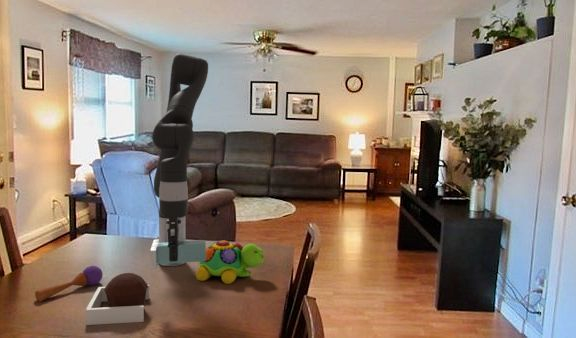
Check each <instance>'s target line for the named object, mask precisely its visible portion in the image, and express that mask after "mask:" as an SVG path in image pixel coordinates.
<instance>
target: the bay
mask: <svg viewBox="0 0 576 338" xmlns="http://www.w3.org/2000/svg"><path fill="white" fill-rule="evenodd" d="M147 285H148V288H147V290H146V296H145V300H150V284H147ZM105 287H106V286H98V287H97V289H96V290H95V293H94V295H93V296H92V297H91V300H90V302H89V303H88V305H87V307H86V309H85V326H92V325H110V324H126V323H129V324H131V323H143V322H144V321H145V312H144V311H145V310H144V309H145V304H144V305H141V306H122V307H109V306H107V307H106V306H105V307H100V306H101V305H102V302H108V301H107V295H106V293H105V291H104V289H105Z"/></svg>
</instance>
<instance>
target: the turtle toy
mask: <svg viewBox="0 0 576 338" xmlns="http://www.w3.org/2000/svg"><path fill="white" fill-rule="evenodd" d="M264 261H265V256H264V250H263V249H262V248H260V247H258V246H257V245H256V244H254V243H248V244H246V245H244V247H243V246H242V244H240V243H239V242H236V243H231V242H229V241H228V240H225V239H224V240H219V241H214V242H212V244H211V245H209V246H208V247H206V261H198V266H199V268H198V269H197V270H196V273H195V277H196V279H197V280H198V281H201V282H204V281H207V280H208V279H210V278H211V276H215V277H221V281H222V282H223V283H224V284H225V285H229V284H232V283H233V282H234V281H235V280H236V279H237V277H241V278H243V277H249V275H250V270H248V269H251V268H257V267H259V266H260V265H262V264H263V262H264Z"/></svg>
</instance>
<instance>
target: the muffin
mask: <svg viewBox="0 0 576 338" xmlns="http://www.w3.org/2000/svg"><path fill="white" fill-rule="evenodd" d="M148 285H149V284H148V283H147V282H146V281H145V279H144V278H143V276H141V275H139V274H137V273H133V272H124V273H119V274H117V275H116V276H114V277H113V278H112V279H111V280H110V281H109V282H108V283H107V285H106V286H104V287H105V289H104V291H105V293H106V295H107V301H106V302H107V304H108V306H107V307H122V306H141V305H144V306H145V303H146V299H145V296H146V290H147V288H148Z"/></svg>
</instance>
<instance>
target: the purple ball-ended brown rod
mask: <svg viewBox="0 0 576 338" xmlns="http://www.w3.org/2000/svg"><path fill="white" fill-rule="evenodd" d="M103 275H104V274H103V270H102V269H101V268H100V267H98V266H96V265H89V266H87V267H86V268H85V269H83V270H82V272H79V273H78V275H76V276H75V278H73V279H72V280H71V281H69V282H65V283H60V284H58V285H54V286H53V285H52V286H51V287H50V286H49V287H46V288H43V289H40V290H39V289H38V290H36V291H35V292H34V296H35V298H36V299H35V300H36V301H38V302H39V303H42V302H44V301H45V300H47V299H49V298H51V297H53V296H55V295H57V294H58V293H61V292H62V291H65V290H66V289H68V288H71V287H72V286H80V287H85V286H86V285H87V286H95V285H98V284H99V283H100V282H101V280H102V278H103Z"/></svg>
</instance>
